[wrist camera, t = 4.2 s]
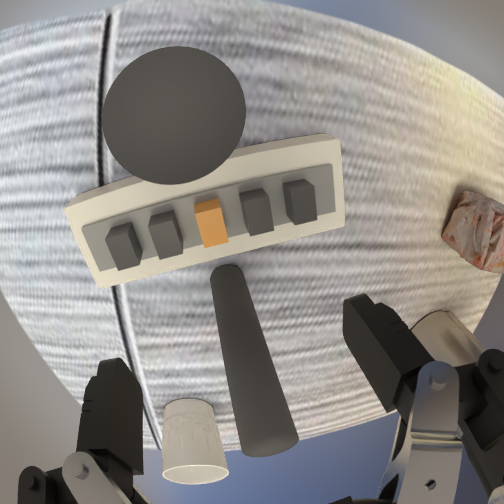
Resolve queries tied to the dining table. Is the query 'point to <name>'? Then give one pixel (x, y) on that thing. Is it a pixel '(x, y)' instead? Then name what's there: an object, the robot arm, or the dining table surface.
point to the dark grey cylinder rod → (250, 369)
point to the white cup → (192, 444)
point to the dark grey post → (174, 115)
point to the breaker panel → (220, 175)
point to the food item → (478, 231)
